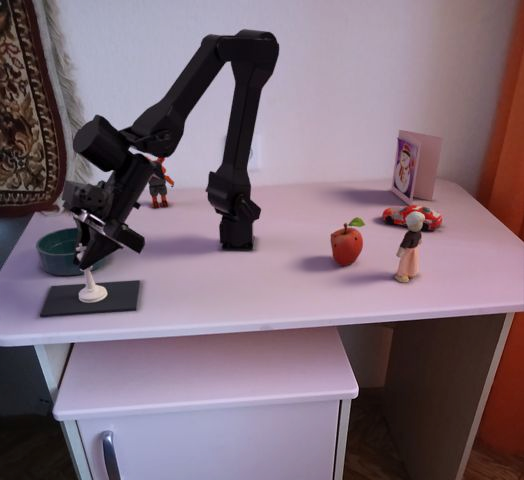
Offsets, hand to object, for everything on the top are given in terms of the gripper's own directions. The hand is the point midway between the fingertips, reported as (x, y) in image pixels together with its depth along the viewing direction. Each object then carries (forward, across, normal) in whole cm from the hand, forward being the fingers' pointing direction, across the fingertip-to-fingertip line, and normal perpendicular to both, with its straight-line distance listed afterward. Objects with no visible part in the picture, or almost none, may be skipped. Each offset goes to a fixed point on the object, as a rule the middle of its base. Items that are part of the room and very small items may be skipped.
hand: (77, 266), depth 91 cm
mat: (+4, 0, +6) cm, 7 cm away
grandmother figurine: (-30, +32, +40) cm, 59 cm away
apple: (-27, +21, +37) cm, 50 cm away
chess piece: (+4, 0, +6) cm, 7 cm away
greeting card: (-54, +8, +65) cm, 85 cm away
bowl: (+1, -16, +9) cm, 18 cm away
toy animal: (-19, -30, +29) cm, 46 cm away
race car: (-45, +18, +55) cm, 73 cm away
